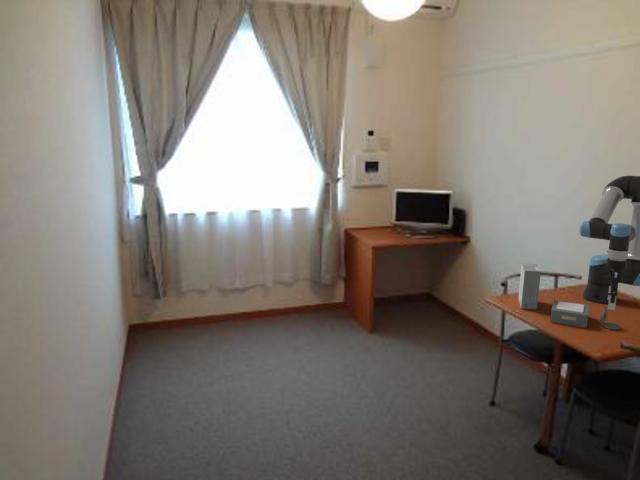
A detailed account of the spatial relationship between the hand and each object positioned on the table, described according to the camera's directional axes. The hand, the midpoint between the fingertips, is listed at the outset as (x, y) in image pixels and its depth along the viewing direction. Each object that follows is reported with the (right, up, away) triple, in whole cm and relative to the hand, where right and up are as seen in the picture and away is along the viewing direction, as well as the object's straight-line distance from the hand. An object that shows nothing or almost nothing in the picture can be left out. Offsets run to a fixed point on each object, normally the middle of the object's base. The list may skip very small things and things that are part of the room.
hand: (611, 304), depth 226 cm
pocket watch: (0, -10, +3) cm, 11 cm away
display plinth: (-13, -8, +11) cm, 19 cm away
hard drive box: (-25, -4, +31) cm, 40 cm away
